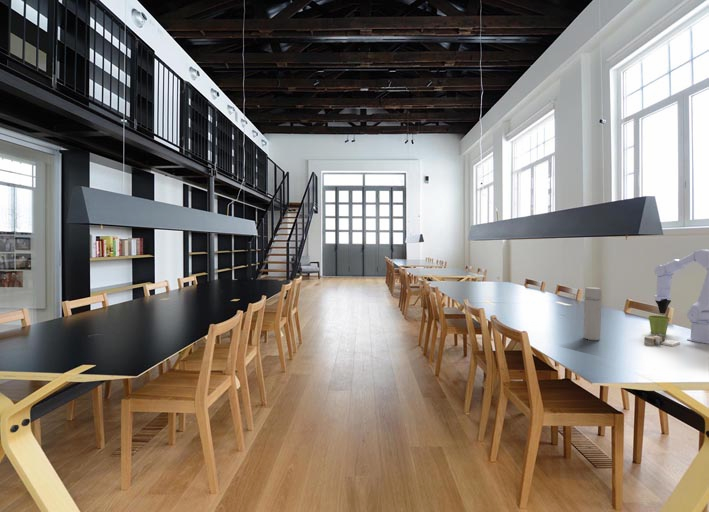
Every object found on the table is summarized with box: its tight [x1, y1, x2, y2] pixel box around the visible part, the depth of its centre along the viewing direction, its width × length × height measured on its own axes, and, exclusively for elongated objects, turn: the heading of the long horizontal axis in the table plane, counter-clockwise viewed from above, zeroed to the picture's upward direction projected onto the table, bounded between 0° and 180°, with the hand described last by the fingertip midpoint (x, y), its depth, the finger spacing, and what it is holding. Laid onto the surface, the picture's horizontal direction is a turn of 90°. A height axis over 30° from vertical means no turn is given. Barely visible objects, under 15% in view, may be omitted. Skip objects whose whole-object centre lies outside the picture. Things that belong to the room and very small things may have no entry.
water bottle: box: [582, 286, 603, 341], centre depth 191 cm, size 9×8×25 cm
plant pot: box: [647, 314, 671, 336], centre depth 201 cm, size 9×9×9 cm
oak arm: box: [643, 334, 666, 346], centre depth 183 cm, size 12×3×4 cm, turn 114°
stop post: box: [654, 337, 661, 346], centre depth 180 cm, size 2×2×4 cm
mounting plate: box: [661, 339, 681, 347], centre depth 181 cm, size 4×8×1 cm, turn 122°
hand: (662, 313), depth 207 cm, fingers closed
